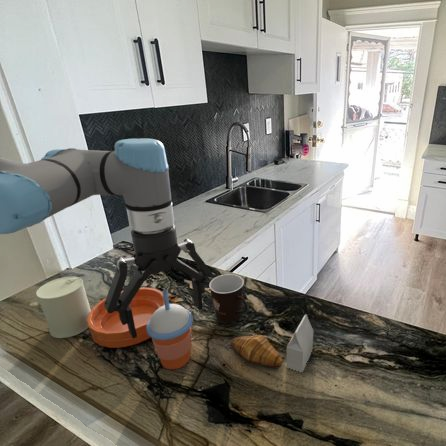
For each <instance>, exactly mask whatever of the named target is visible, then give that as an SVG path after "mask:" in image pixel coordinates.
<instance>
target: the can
mask: <svg viewBox="0 0 446 446" xmlns="http://www.w3.org/2000/svg"><path fill="white" fill-rule="evenodd" d="M35 296H36V297H37V300H38V302H39V305H40V307H41V310H42V312H43V315H44V319H45V320H46V323H47V324H46V325H47V326H48V330H49V334H50V337H52V338H55V339H66V338H67V339H68V338H71V337H75V336H77V335H79V334H81V333H84V332H85V331H86V330H89V327H88V323H87V318H88V314H89V312H90V311H91V310H92V309H91V305H90V303H89V299H88V296H87V292H86V289H85V284H84V280H83V279H82V278H81V277H78V276H64V277H63V276H62V277H60V278H59V277H58V278H55V279H53V280H51V281H48V282H46V283H44V284H43V285H41V286H40V287H39V288H38V289H37V290H36V292H35Z"/></svg>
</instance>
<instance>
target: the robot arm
mask: <svg viewBox="0 0 446 446" xmlns="http://www.w3.org/2000/svg"><path fill="white" fill-rule="evenodd" d="M169 170H170V168H169V164H168V159H167V154H166V149H165V146H164V143H162V142H161V141H160V140H158V139H154V138H143V137H142V138H127V139H119V140H117V141H116V142H115V144H114V150H96V149H95V150H93V149H78V148H74V147H69V148H66V149H65V148H62V149H60V148H58V149H51V150H49V151H47V152H46V153H45V154H44V156H43V157H41V158H40V159H39V160H36V161H32V162H27V163H23V162H19V161H15V160H12V159H9V158H7V157H4V156H0V235H8V234H14V233H16V232H19V231H22V230H24V229H27V228H30V227H33V226H35V225H37V224H40V223H42V222H43V221H45V220H46V219H48V218H50V217H52V216H54V215H56V214H58V213H60V212H62V211H64V210H65V209H68V208H70V207H72V206H74V205H76V204H78V203H80V202H82V201H85V200H86V199H88V198H90V197H92V196H123V199H124V203H125V209H126V214H127V219H128V225H129V229H131V231H130V235H131V240H132V245H133V246H132V247H133V251H134V252H133V256H132V257H126V258H123V257H122V256H119V257H117V258H116V259H115V267H116V268H115V272H114V275H113V277H112V281H111V283H110V286H109V289H108V292H107V295H106V297H105V298H106V300H105V303H104V306H105V308H106V310H107V312H108V313H113V312H114V311H117V312H118V314H119V318H120V321H121V323H122V324H123V325H125V324H127V325H128V329H129V332H130V334H131V336H132V338H136V337H137V334H136V329H135V324H134V319H133V315H132V310H131V308H130V306H129V304H130V303H131V301H132V300H133V298H134V297H135V295H136V293H137V292H138V290H139V289H140V288H142V286H143V284H144V282H145V281H147V280H148V279H149V277H150V276H151V275H153V276H155V275H157V274H159V273H161V272H167V271H170V270H171V268H172V267H175V268H176V269H178V270H180V271H182V272H183V273H184V274H187V275H188V276H189V277H191V278H192V279H191V287H192V297H193V304H194V305H195V307H196V308H197V309H198V310H199V311H201V310H203V308H204V306H203V305H204V304H203V297H202V295H203V294H205V292H206V287H205V286H206V285H205V284H206V283H207V278H211V277H212V276H213V272H212V270H211V269H210V268H209V267H208V265H207V264H206V263H205V261H204V260H203V259H202V257H201V255H199V254H198V252H197V249H196V246H195V243H194V242H193V241H192V240H190V239H189V238H185V239H183V242H181V243H178V236H177V229H176V225H175V214H174V207H173V199H172V192H171V183H170V173H169ZM182 251H183V252H184V253H186V254H188V255H189V257H190V258H191V259H192V261H193V262H194V263H195V264H196V265H197V267H198V268H199V269H200V270H201V271H199V272H198V271H197V270H196V269H194V268H192V267H191V266H190V265H188V264H186V263H185V262H183V261H182V260H180V259H178V257H179V255H180V254H181V252H182ZM133 265H135V266H137V267H136V268H135V270H134V274H133V275H132V276H131V279H130V280H129V282H128V283H127V285H126V286H125V283H126V280H127V277H128V272H129V271H130V272H131V269H132V266H133ZM124 286H125V288H124ZM122 291H123V292H122ZM121 292H122V294H121ZM120 294H121V295H120Z"/></svg>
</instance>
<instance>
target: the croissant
mask: <svg viewBox="0 0 446 446" xmlns="http://www.w3.org/2000/svg"><path fill="white" fill-rule="evenodd" d="M230 346H231V347H232V349H233V350H234V351H235V352H236V354H238V355H239V356H242V357H243V358H244V359H245V360H247V361H248V362H249V363H252V364H256V365H261V366H263V367H266V368H272V369H280V368H281V367H282V365H283V362H284V361H283V360H284V359H283V358H282V356H281V355H280V353H279V352H278V351H277V350H276V348H275V347H274V346H273V345H272V344H271V343H270V341H269V340H268V338H266V337H265V336H264V335H262V334H253V335H243V336H237V337H234V338H232V340H231V341H230Z"/></svg>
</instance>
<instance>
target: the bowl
mask: <svg viewBox="0 0 446 446" xmlns="http://www.w3.org/2000/svg"><path fill="white" fill-rule="evenodd" d="M123 291H124V290H122V292H123ZM122 292H121V294H122ZM121 294H120V295H121ZM105 300H106V297H105V298H103V299H102V300H100V301H99V302H98V303H96V304H95V305H94V306H93V307H92V309H91V311H90V312H89V314H88V318H87V323H88V327H89V328H88V330H89V333H90V336H91V338H92V341H93V342H94V343H95V344H97V345H99V346H100V347H105V348H110V349H113V348H126V347H129V346H134V345H137V344H140V343H142V342H144V341H147V340H148V339H150V338H151V337H150V336H149V335H148V333H147V329H146V327H147V323H148V321H149V319H150V318H151V317H152V315H153V313H154V312H155V311H156V310H157V309H159V308H160V307H162V306H164V305H165V304H164V298H163V293H162V290H159V289H157V288H154V287H140V289H139V290H138V292H137V293H136V295H135V297H134V298H133V300H132V301H131V303H130V304H129V306H130V308H131V310H132V315H133V319H134V324H135V329H136V334H137V337H136V338H132V336H131V334H130V332H129V329H128V325H127V324H125V325H123V324H122V323H121V321H120V318H119V314H118V312H117V311H114V312H113V313H108V312H107V310H106V308H105V306H104V303H105Z"/></svg>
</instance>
